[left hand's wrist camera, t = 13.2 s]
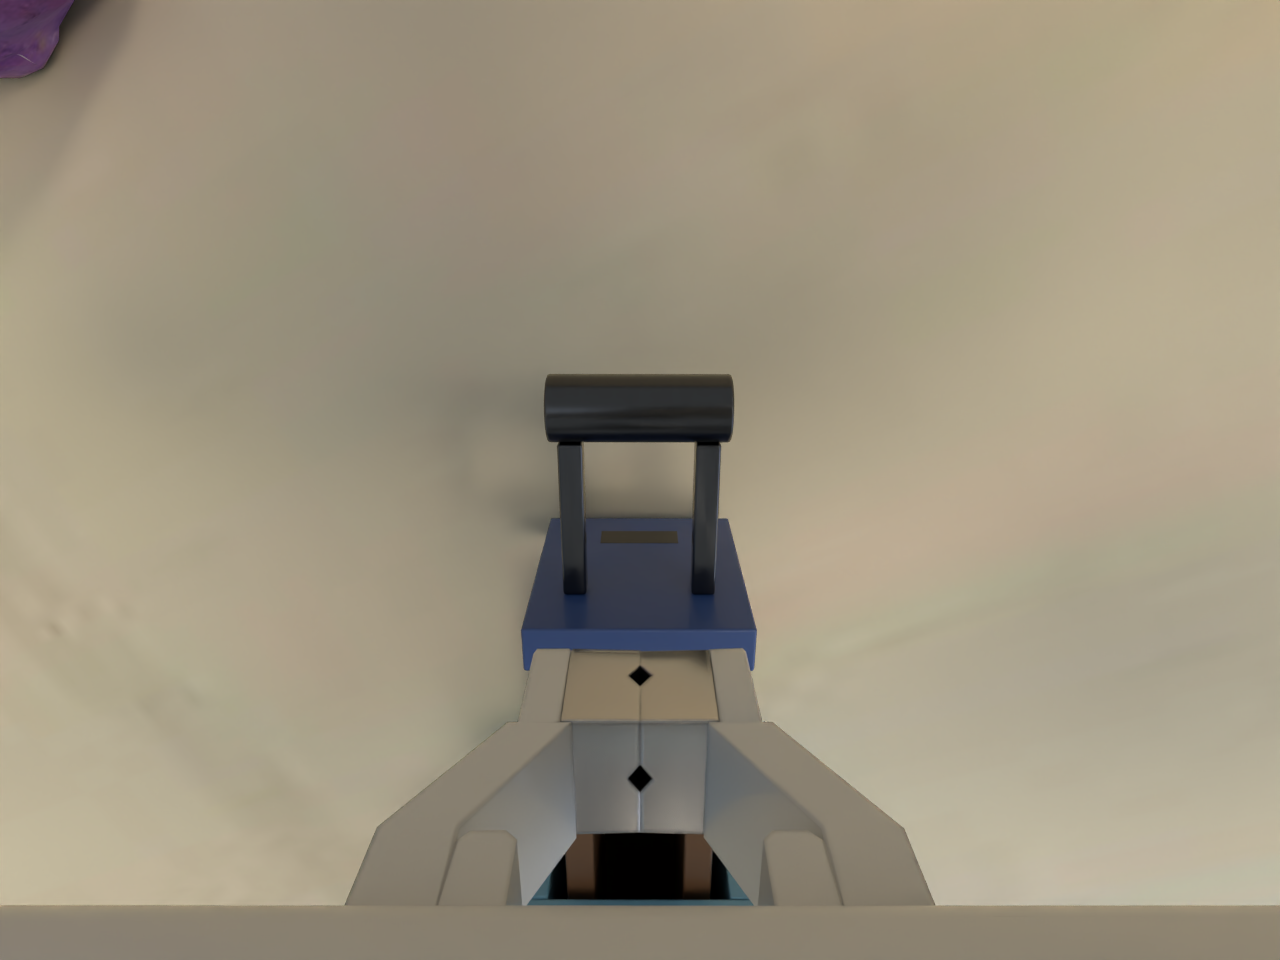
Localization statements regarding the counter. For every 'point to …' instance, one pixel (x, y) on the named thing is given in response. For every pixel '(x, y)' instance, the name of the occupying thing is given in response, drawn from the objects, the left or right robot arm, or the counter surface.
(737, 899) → the light-blue storage box
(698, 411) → the drawer
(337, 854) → the counter surface
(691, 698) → the left robot arm
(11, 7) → the figurine
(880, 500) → the counter surface
